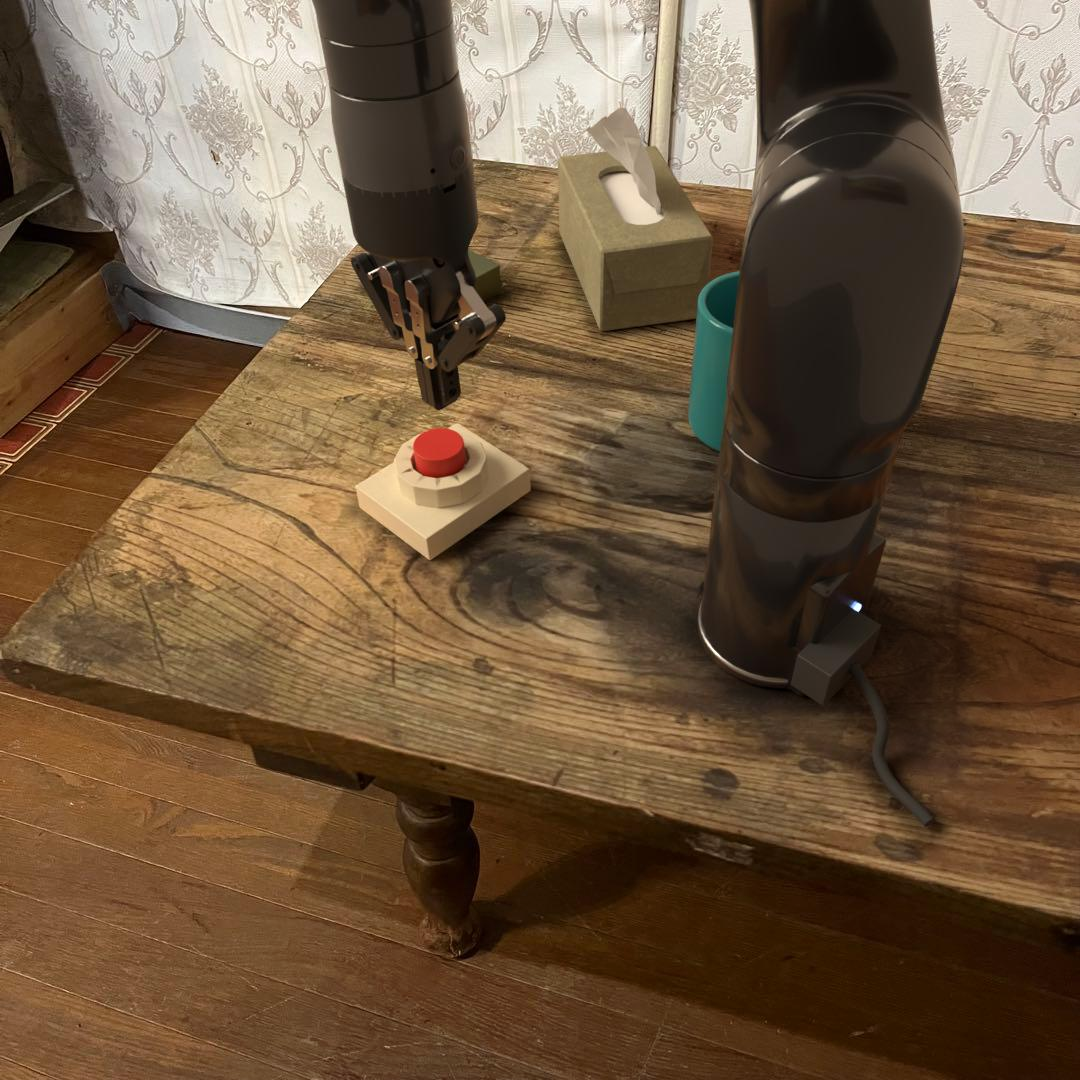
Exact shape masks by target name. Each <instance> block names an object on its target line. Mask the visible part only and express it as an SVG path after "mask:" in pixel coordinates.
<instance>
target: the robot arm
mask: <svg viewBox="0 0 1080 1080" xmlns="http://www.w3.org/2000/svg"><path fill="white" fill-rule="evenodd" d="M311 3H312V6H313V9H314V14H315V18H316V24H317V30H318V34H319V39H320V44H321V45H320V46H321V50H322V55H323V61H324V65H325V71H326V76H327V82H328V87H329V96H330V115H331V124H332V131H333V138H334V142H335V147H336V148H335V149H336V152H337V153H336V154H337V159H338V164H339V168H340V175H341V178H342V179H341V180H342V184H343V188H344V194H345V198H346V199H345V200H346V202H347V203H346V205H347V209H348V215H349V219H350V225H351V229H352V230H351V231H352V234H353V238H354V240H355V241H356V243H357V244H358V246H359V247H361V249H363V250H364V251H363V252H360V253H358V254H356V255H354V256H353V257H351V258H350V264H351V267H352V269H353V271H354V273H355V274H356V276H357V278H358V280H359V281H360V283H361V285H362V287H363V288H364V290H365V293H366V294H367V296H368V298H369V299H370V301H371V303H372V305H373V308H375V310H376V312H377V314H378V315H379V317H380V320H381V321H382V323H383V324H384V326H385V328H386V330H387V332H388V334H389V335H390V336H391V338H392V339H393V340H394V341H400V340H401V339H402V341H404V344H405V349H406V352H407V353H408V355H409V356H410V357H411V358H412V359H413V360H414V365H415V372H416V376H417V383H418V387H419V390H420V396H421V400H422V402H423V403H425V404H426V405H429V406H430V407H431V408H432V409H435V410H436V411H442V410H444V409H445V408H447V407H448V406H450V405H451V404H453V403H455V402H456V401H458V400H459V398H460V397H461V394H462V389H461V381H460V373H459V366H460V365H462V364H464V363H465V362H468V361H469V360H471V359H474V358H475V357H478V356H479V355H480V354H481V352H482V351H483V349H484V348H485V347H486V346H487V345H488V343H489V342H490V341H491V340H492V338H493V337H494V336H495V335H496V333H497V332H498V331H499V330H500V328H501V327H502V326H503V324H504V323H505V322H506V320H507V315H506V312H505V311H504V309H503V307H501V305H499V304H498V303H494V304H492V305H491V306H488V307H487V304H485V302H483V301H482V299H481V298H480V296H479V295H478V294H477V292H476V291H475V289H474V287H475V285H476V274H475V271H474V268H473V266H472V264H471V261H470V258H469V254H468V249H469V248H470V245H471V242H472V240H473V238H474V235H475V234H476V232H477V229H478V226H479V212H478V211H479V210H478V201H477V190H476V180H475V171H474V170H475V169H474V162H473V152H472V140H471V132H470V121H469V113H468V106H467V102H466V98H465V94H464V89H463V87H462V80H461V76H460V70H459V60H458V50H457V42H456V41H457V40H456V39H457V38H456V30H455V29H456V28H455V21H454V11H453V10H454V9H453V3H452V0H311ZM748 4H749V5H748V6H749V12H750V21H751V22H750V23H751V31H752V42H753V44H752V45H753V57H754V74H755V75H754V76H755V95H756V96H755V97H756V99H755V100H756V101H755V102H756V103H755V104H756V152H755V153H756V155H755V167H754V168H755V169H754V175H753V182H752V187H751V195H750V200H749V201H750V202H749V207H748V209H749V210H748V213H747V214H748V215H747V222H746V226H745V233H744V237H743V244H742V251H741V258H740V265H739V271H740V272H739V281H738V289H737V298H736V307H735V316H734V325H733V334H732V343H731V352H730V361H729V369H728V375H727V384H726V391H727V393H726V403H725V411H724V420H723V428H722V436H721V445H720V452H718V461H717V470H716V477H715V484H714V485H715V486H714V494H713V503H712V510H711V519H710V525H709V534H708V535H709V536H708V541H707V542H708V543H707V551H706V559H705V567H704V577H703V580H702V582H701V583H700V584H699V586H698V587H697V588H698V589H697V595H696V596H697V597H696V598H697V599H698V598H699V597H700V596H701V601H700V605H699V608H698V613H697V614H698V615H697V623H696V624H697V625H696V626H697V634H698V638H699V641H700V643H701V645H702V648H703V649H704V651H705V652H706V654H707V655H708V657H709V658H710V659H711V660H712V661H713V662H714V663H715V664H716V665H717V666H718V667H719V668H721V669H722V670H723V671H725V672H726V673H728V674H729V675H731V676H732V677H735V678H736V679H738V680H741V681H743V682H745V683H748V684H751V685H755V686H759V687H764V688H772V689H787V690H788V691H791V692H792V693H794V694H795V695H796V696H799V697H805V696H807V697H808V698H810V699H812V700H813V701H815V702H816V703H818V705H820V706H822V707H824V706H826V704H827V703H828V702H829V701H830V700H831V699H832V698H833V697H834V696H835V695H836V693H838V691H839V690H840V689H841V688H842V687H844V685H846V683H847V682H848V681H849V680H850V679H851V678H852V680H853V681H854V683H855V684H856V686H857V687H858V689H859V690H860V692H861V694H862V695H863V697H864V698H865V699H866V701H867V703H868V705H869V707H870V709H871V711H872V713H873V717H874V719H875V723H876V733H875V737H874V739H873V742H872V743H873V744H872V749H871V756H872V757H871V758H872V761H873V762H872V763H873V765H874V767H875V770H876V772H877V774H878V776H879V778H880V780H881V781H882V783H883V784H884V786H885V787H886V789H887V790H888V791H889V792H890V793H891V794H892V795H893V796H894V798H895V799H897V800H898V801H899V802H900V803H901V805H903V806H904V807H905V808H906V809H907V810H908V811H909V812H910V813H911V814H912V815H913V816H914V817H915V818H916V819H917V820H918V821H919V822H920V823H921V825H922V826H923V827H925V828H927V827H930V825H932V824H933V823H934V822H935V821H936V819H935V818H934V816H933V815H932V814H931V812H929V810H927V809H926V808H925V806H923V805H922V804H921V802H919V801H918V799H916V798H915V797H914V796H913V795H911V793H909V791H908V790H907V789H905V787H903V785H901V783H900V782H899V781H898V780H897V779H896V777H895V776H894V775H893V773H892V772H891V770H890V767H889V765H888V761H887V759H886V753H885V752H886V747H887V745H888V744H887V743H888V741H889V738H890V737H889V736H890V729H891V728H890V721H889V717H888V714H887V710H886V708H885V705H884V703H883V701H882V699H881V697H880V696H879V694H878V693H877V691H876V689H875V688H874V686H873V685H872V683H871V681H870V680H869V679H868V677H867V676H866V674H865V673H864V671H863V669H862V666H863V665H864V664H865V663H866V662H867V661H868V660H869V659H870V658H871V657H872V656H873V653H874V651H875V648H876V644H877V640H878V637H879V634H880V631H881V628H882V625H881V624H880V623H878V622H876V621H875V620H873V619H871V618H870V617H868V616H867V615H866V612H867V609H868V605H869V603H870V599H871V595H872V593H873V588H874V585H875V582H876V579H877V575H878V572H879V569H880V566H881V565H880V564H881V561H882V558H883V556H884V555H883V554H884V551H885V547H886V544H887V539H886V537H885V536H884V535H882V534H880V533H878V532H876V531H877V527H878V523H879V519H880V516H881V512H882V509H883V505H884V501H885V497H886V494H887V491H888V487H889V483H890V479H891V476H892V473H893V469H894V465H895V463H896V459H897V456H898V455H897V454H898V451H899V447H900V444H901V442H902V439H903V434H904V431H905V428H906V427H907V425H908V424H909V423H911V421H912V420H913V418H914V417H915V415H916V414H917V411H918V410H919V408H920V406H921V403H922V400H923V397H924V395H925V393H926V390H927V389H926V388H927V386H928V382H929V380H930V376H931V373H932V370H933V367H934V363H935V362H936V361H935V360H936V358H937V354H938V352H939V349H940V345H941V342H942V339H943V336H944V334H945V333H944V332H945V329H946V327H947V324H948V320H949V317H950V313H951V309H952V307H953V303H954V299H955V296H956V293H957V289H958V285H959V281H960V277H961V271H962V268H963V267H962V266H963V260H964V254H965V253H964V252H965V242H966V241H965V239H966V238H965V224H964V217H963V216H964V215H963V210H962V204H961V198H960V196H961V195H960V190H959V189H960V188H959V183H958V182H959V181H958V175H957V173H958V172H957V168H956V163H955V156H954V152H953V148H952V145H951V140H950V137H949V132H948V128H947V124H946V118H945V111H944V103H943V98H942V92H941V85H940V77H939V71H938V70H939V69H938V63H937V54H936V53H937V52H936V44H935V36H934V34H935V33H934V25H933V16H932V6H931V0H748Z"/></svg>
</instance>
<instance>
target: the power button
mask: <svg viewBox="0 0 1080 1080" xmlns="http://www.w3.org/2000/svg"><path fill="white" fill-rule="evenodd" d="M421 433H422V434H421ZM421 433H419V434H420V435H419V436H418V437H417V438H416V439H415V441H414V444H413V450H414V456H415V463H416V467H417V469H418V471H419V472H420V473H421V474H423V475H424V476H426V477H432V478H443V477H448V476H453V475H455V474H457V473H458V472H460V471H461V470H462V469H463V467H464V465H465V462H466V457H465V448H464V440H463V438H462V436H461V435H460V434H459V433H457V432H456V431H454V430H451V429H448V428H446V427H445V428H444V427H438V428H437V427H436V428H430V429H427V430H426V431H424V432H421Z"/></svg>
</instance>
